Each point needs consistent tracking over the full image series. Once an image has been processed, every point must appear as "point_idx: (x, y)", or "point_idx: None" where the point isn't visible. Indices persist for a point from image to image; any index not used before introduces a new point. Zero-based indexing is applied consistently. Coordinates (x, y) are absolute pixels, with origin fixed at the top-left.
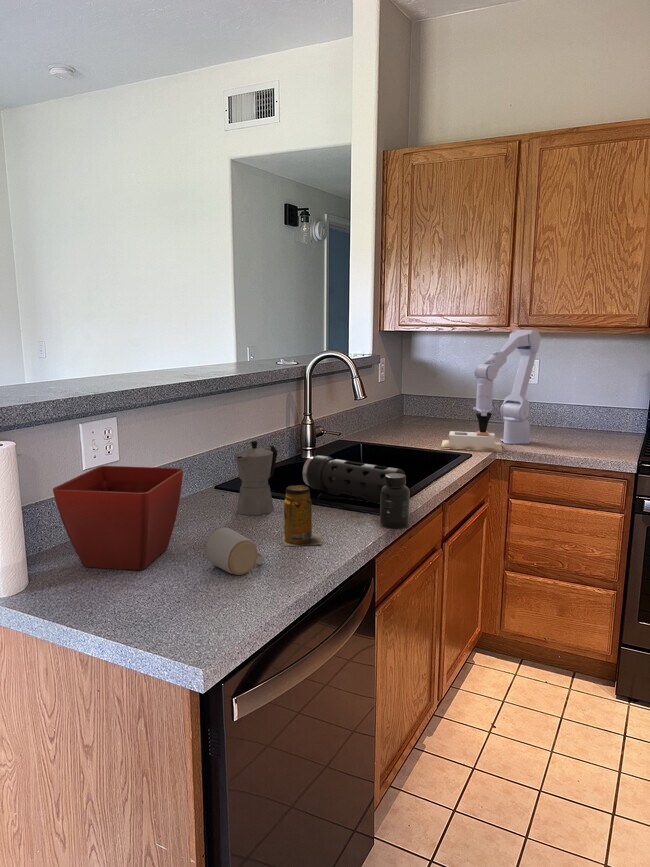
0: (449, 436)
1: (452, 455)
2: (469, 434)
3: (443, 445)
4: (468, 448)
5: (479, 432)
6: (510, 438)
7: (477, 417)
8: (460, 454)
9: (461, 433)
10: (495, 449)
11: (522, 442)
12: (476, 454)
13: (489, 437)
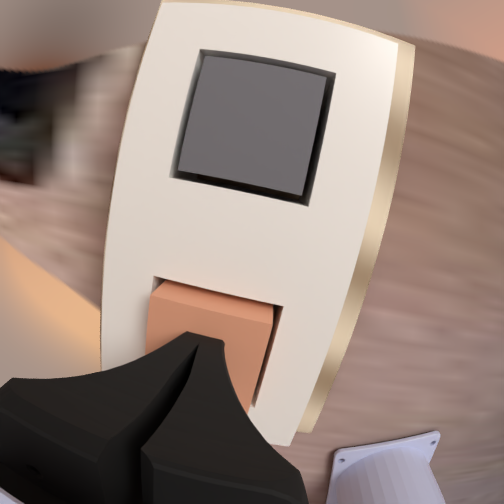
0: (165, 12)
1: (18, 83)
2: (204, 210)
3: None
4: (114, 179)
5: (170, 321)
6: (350, 483)
7: (27, 383)
8: (32, 122)
9: (241, 122)
10: (101, 350)
11: (333, 500)
12: (34, 215)
13: (103, 364)
